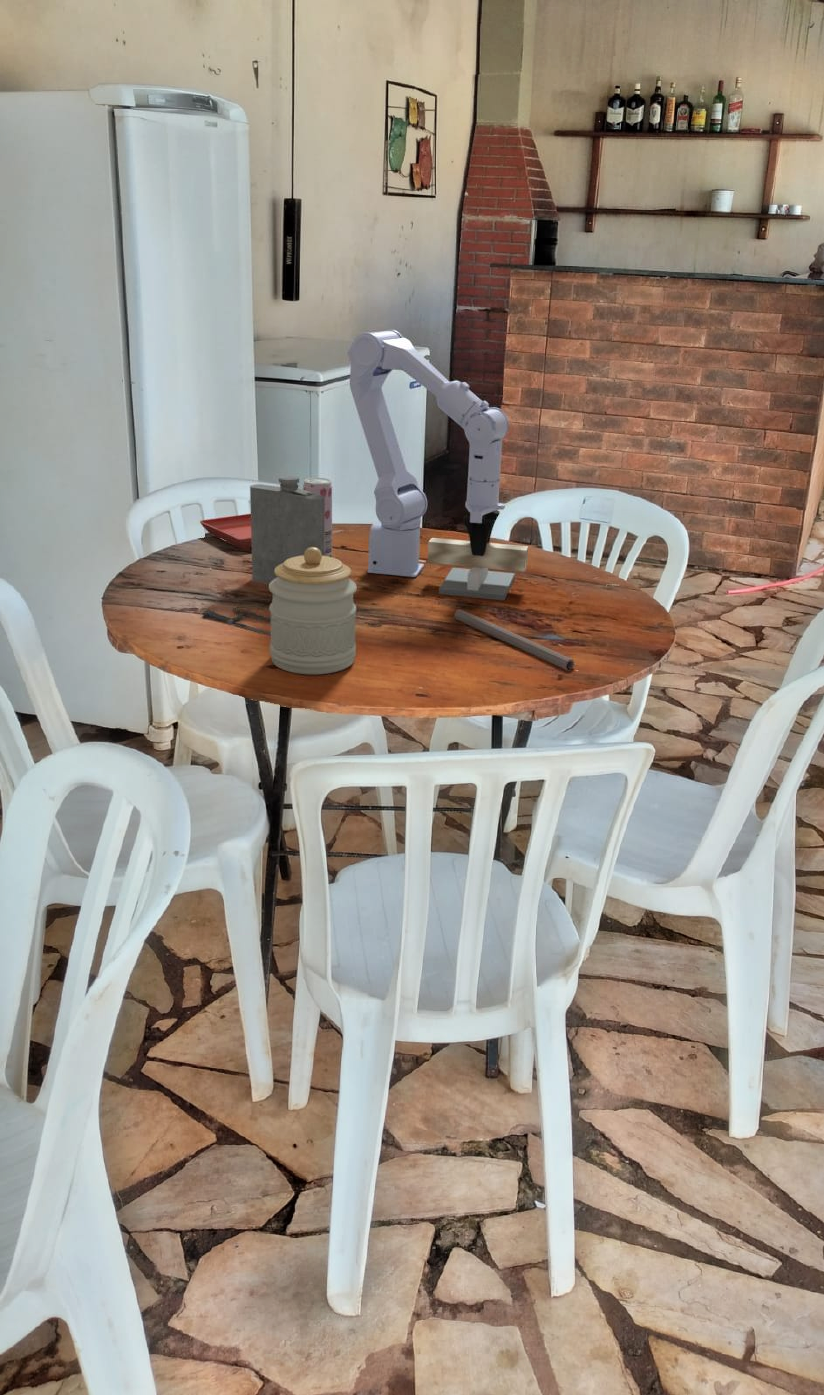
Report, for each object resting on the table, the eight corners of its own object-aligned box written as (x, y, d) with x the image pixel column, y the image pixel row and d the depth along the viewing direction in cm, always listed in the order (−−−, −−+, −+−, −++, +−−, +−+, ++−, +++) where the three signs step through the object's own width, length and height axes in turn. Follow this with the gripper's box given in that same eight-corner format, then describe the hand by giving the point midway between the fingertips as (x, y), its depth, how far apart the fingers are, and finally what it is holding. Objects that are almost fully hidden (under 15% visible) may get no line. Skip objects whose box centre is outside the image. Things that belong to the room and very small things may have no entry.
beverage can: (303, 551, 221) (302, 477, 215) (331, 551, 221) (331, 477, 215) (303, 559, 215) (303, 483, 209) (332, 559, 216) (332, 483, 210)
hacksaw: (198, 619, 183) (197, 611, 182) (238, 598, 190) (238, 591, 190) (312, 655, 171) (312, 647, 171) (351, 632, 179) (351, 624, 178)
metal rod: (462, 619, 187) (463, 608, 186) (573, 670, 167) (574, 658, 166) (454, 621, 186) (454, 610, 185) (564, 672, 166) (565, 660, 165)
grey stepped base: (438, 594, 198) (439, 572, 196) (452, 572, 210) (453, 552, 209) (504, 600, 196) (505, 579, 194) (514, 578, 208) (515, 558, 207)
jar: (280, 642, 172) (278, 533, 165) (361, 648, 171) (363, 538, 164) (261, 673, 161) (258, 557, 154) (348, 679, 159) (349, 562, 152)
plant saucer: (198, 534, 231) (197, 519, 230) (272, 524, 241) (272, 509, 240) (239, 555, 218) (239, 539, 217) (316, 543, 228) (316, 527, 227)
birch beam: (427, 562, 202) (428, 541, 200) (430, 558, 205) (431, 537, 203) (524, 571, 199) (526, 550, 197) (526, 567, 201) (528, 546, 200)
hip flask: (248, 580, 202) (245, 472, 194) (263, 575, 205) (260, 468, 197) (317, 597, 194) (316, 485, 186) (330, 592, 197) (331, 481, 189)
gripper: (500, 488, 188) (495, 565, 193) (511, 472, 201) (506, 544, 206) (460, 485, 189) (456, 561, 195) (473, 469, 202) (469, 541, 208)
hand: (479, 552), depth 201 cm, fingers closed on birch beam, 3 cm apart
